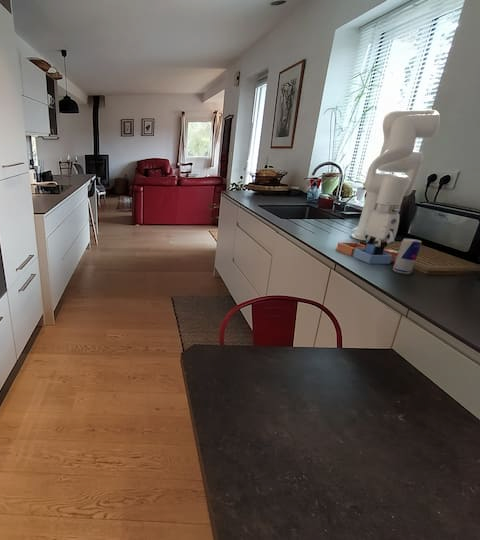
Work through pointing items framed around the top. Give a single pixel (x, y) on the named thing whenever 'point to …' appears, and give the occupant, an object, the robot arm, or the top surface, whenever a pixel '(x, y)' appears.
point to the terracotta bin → (349, 247)
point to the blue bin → (372, 257)
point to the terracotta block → (391, 253)
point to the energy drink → (407, 256)
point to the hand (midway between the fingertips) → (372, 253)
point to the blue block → (370, 248)
